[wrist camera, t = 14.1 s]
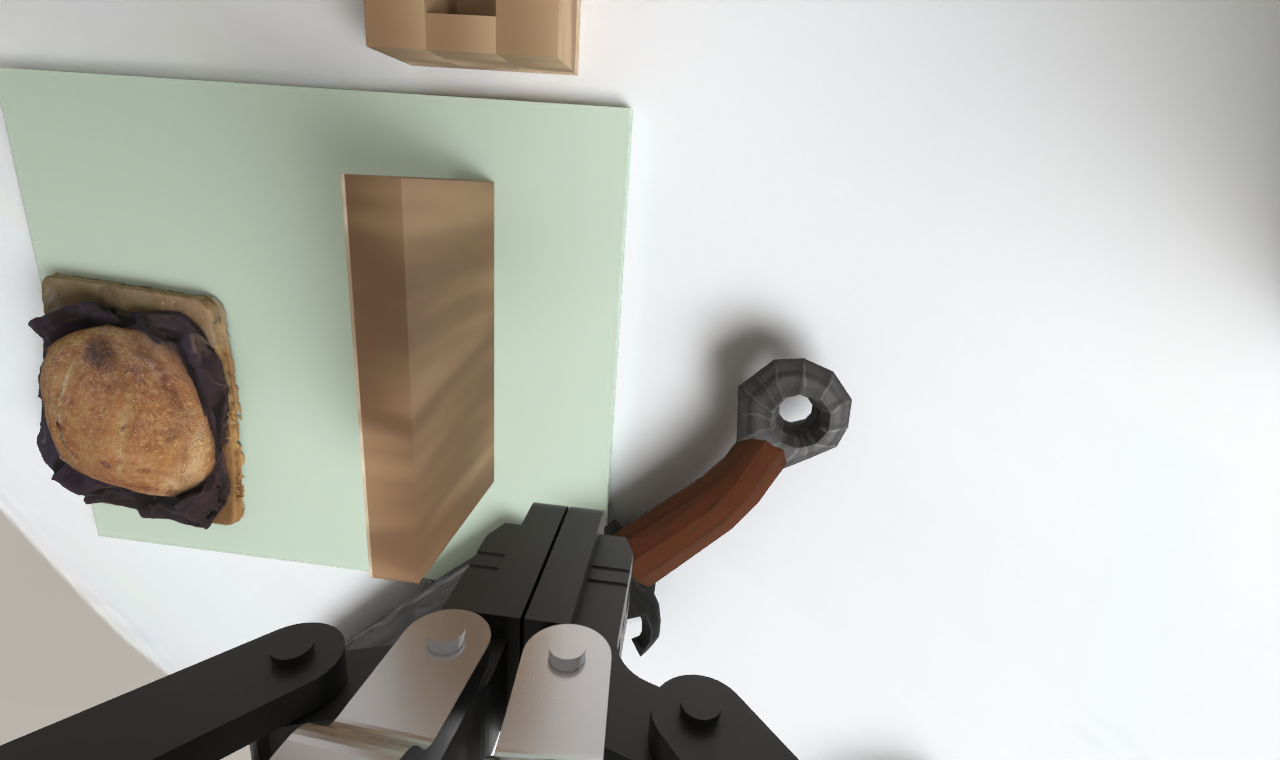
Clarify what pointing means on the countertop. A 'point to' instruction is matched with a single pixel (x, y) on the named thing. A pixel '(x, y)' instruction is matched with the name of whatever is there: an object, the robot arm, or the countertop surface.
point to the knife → (692, 495)
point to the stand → (478, 33)
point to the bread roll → (140, 399)
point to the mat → (337, 274)
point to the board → (420, 359)
